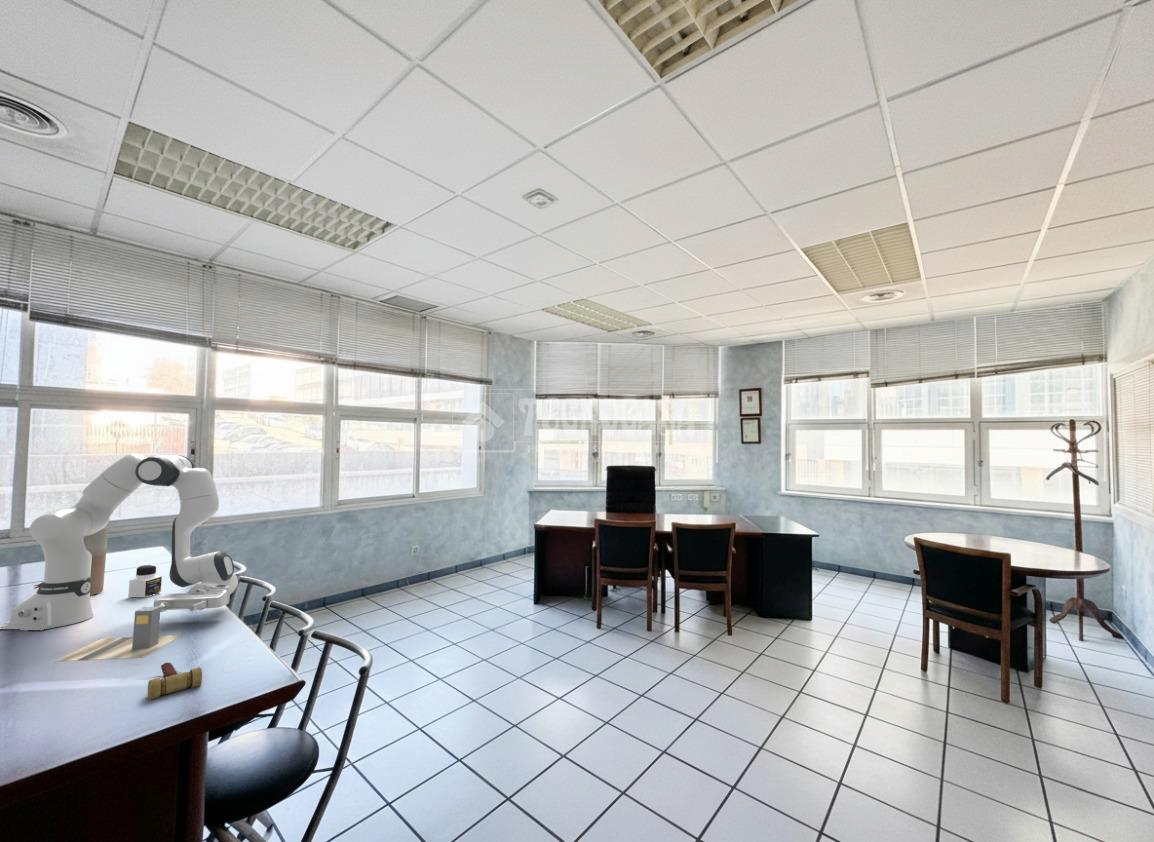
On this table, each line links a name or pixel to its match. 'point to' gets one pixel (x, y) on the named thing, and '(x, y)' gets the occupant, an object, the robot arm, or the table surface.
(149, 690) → the gavel
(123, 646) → the board
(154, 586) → the medicine bottle
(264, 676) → the table surface
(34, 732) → the table surface
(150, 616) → the tall grey pillar
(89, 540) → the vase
